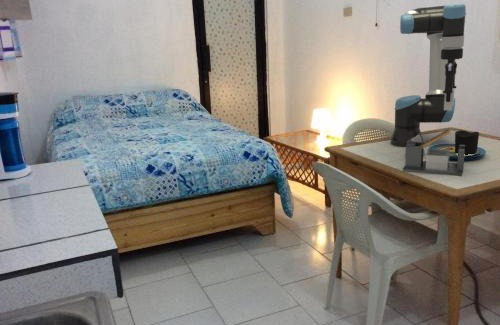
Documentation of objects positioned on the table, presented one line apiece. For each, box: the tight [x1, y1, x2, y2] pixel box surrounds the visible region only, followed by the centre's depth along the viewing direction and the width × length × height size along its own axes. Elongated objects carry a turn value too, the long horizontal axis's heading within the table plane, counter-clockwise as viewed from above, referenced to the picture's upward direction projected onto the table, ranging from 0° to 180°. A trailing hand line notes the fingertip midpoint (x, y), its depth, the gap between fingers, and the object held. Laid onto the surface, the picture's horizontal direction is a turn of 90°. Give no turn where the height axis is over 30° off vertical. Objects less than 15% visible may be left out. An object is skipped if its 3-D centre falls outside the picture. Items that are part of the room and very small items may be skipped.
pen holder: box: [454, 129, 480, 155], centre depth 193 cm, size 9×9×10 cm
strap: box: [420, 128, 452, 149], centre depth 177 cm, size 15×4×1 cm
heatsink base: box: [402, 141, 465, 177], centre depth 178 cm, size 22×13×10 cm, turn 63°
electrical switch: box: [406, 135, 426, 156], centre depth 196 cm, size 9×5×9 cm, turn 141°
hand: (448, 107), depth 170 cm, fingers open, 9 cm apart
